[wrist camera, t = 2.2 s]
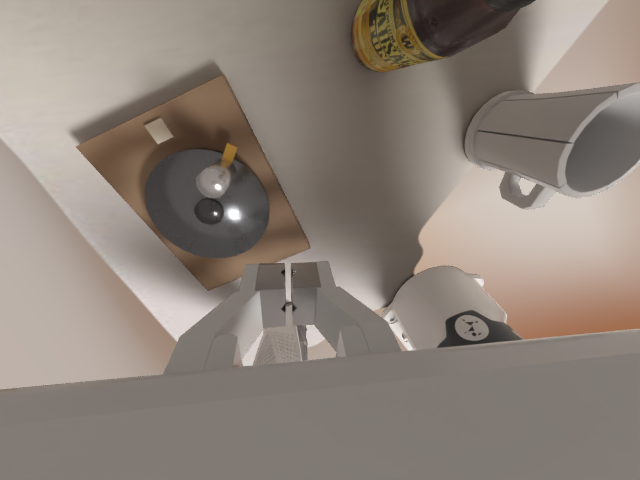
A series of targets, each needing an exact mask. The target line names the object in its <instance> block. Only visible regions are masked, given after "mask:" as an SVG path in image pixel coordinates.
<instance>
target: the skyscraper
mask: <svg viewBox="0 0 640 480" xmlns="http://www.w3.org/2000/svg"><path fill="white" fill-rule="evenodd" d="M306 331H307V328H306V325H294V326H293V323H292V303H287V304H286V326H281V327H271V328H264V332H263V337H262V339H261V342H260V345H259V348H258V350H257V353H256V357H255V360H254V363H253V365H264V364H274V363H285V362H295V361H306V360H307V345H308V343H307V339H306Z"/></svg>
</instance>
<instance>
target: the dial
mask: <svg viewBox="0 0 640 480" xmlns="http://www.w3.org/2000/svg"><path fill="white" fill-rule="evenodd" d="M237 148H238V147H236V146H234V145H232V144H230V143H227V145H226V148H225V151H224V152H221V151H218V150H214V149H207V148H192V149H186V150H182V151H179V152H176V153H174V154H172V155H170V156H168V157H166V158H165V159H163V160H161V161H160V162H159V163H158V164H157V165H156V166H155V167H154V169H153V170H152V171H151V173H150V175H149V177H148V179H147V182H146V185H145V204H146V209H147V211H148V214H149V216H150V218H151V220H152V222H153V224H154V225H155V227H156V228H157V229H158V231H159V232H160V233H161V234H162V235H163V236H164V237H165V238H166V239H167V240H168V241H170V242H171V243H172V244H174V245H175V246H177V247H179V248H180V249H182V250H184V251H186V252H189V253H191V254H194V255H197V256H201V257H207V258H227V257H233V256H236V255H239V254H242V253H244V252H246V251H247V250H249V249H251V248H252V247H253V246H254V245H256V244H257V243H258V242H259V240H260V239H261V238H262V236H263V235H264V233H265V231H266V228H267V225H268V221H269V212H270V207H269V200H268V196H267V193H266V190H265V188H264V186H263V184H262V182H261V181H260V179H259V178H258V176H257V175H256V174H255V173H254V172H253V171H252V170H251V169H250V168H249V167H248V166H247V165H246V164H244V163H243V162H241V161H240V160H239V159H237V158H235V154H236V151H237Z"/></svg>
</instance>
